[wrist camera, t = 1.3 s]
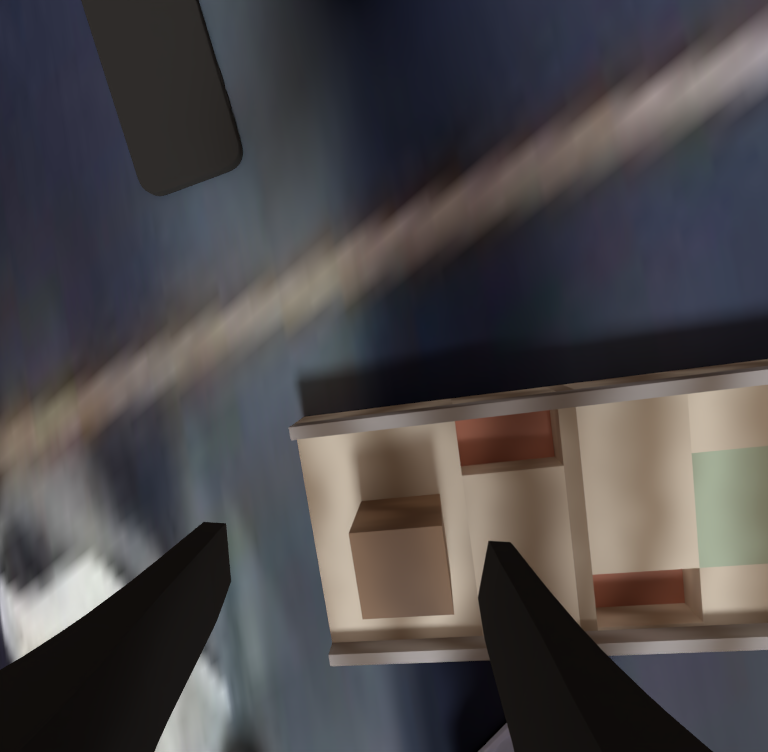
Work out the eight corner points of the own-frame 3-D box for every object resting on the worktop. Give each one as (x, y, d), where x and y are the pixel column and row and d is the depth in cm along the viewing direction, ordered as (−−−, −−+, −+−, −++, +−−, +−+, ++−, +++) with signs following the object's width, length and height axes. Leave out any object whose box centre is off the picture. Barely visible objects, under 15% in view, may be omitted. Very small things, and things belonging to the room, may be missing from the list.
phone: (170, -87, 24) (244, 160, 25) (179, -73, 24) (250, 166, 25) (68, -37, 25) (143, 198, 26) (80, -25, 25) (152, 203, 26)
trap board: (340, 630, 28) (330, 666, 25) (304, 416, 27) (288, 427, 24) (821, 607, 24) (876, 645, 21) (812, 353, 23) (869, 357, 20)
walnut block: (372, 574, 25) (362, 619, 21) (361, 501, 25) (348, 533, 21) (450, 568, 25) (454, 614, 21) (439, 493, 24) (442, 525, 20)
